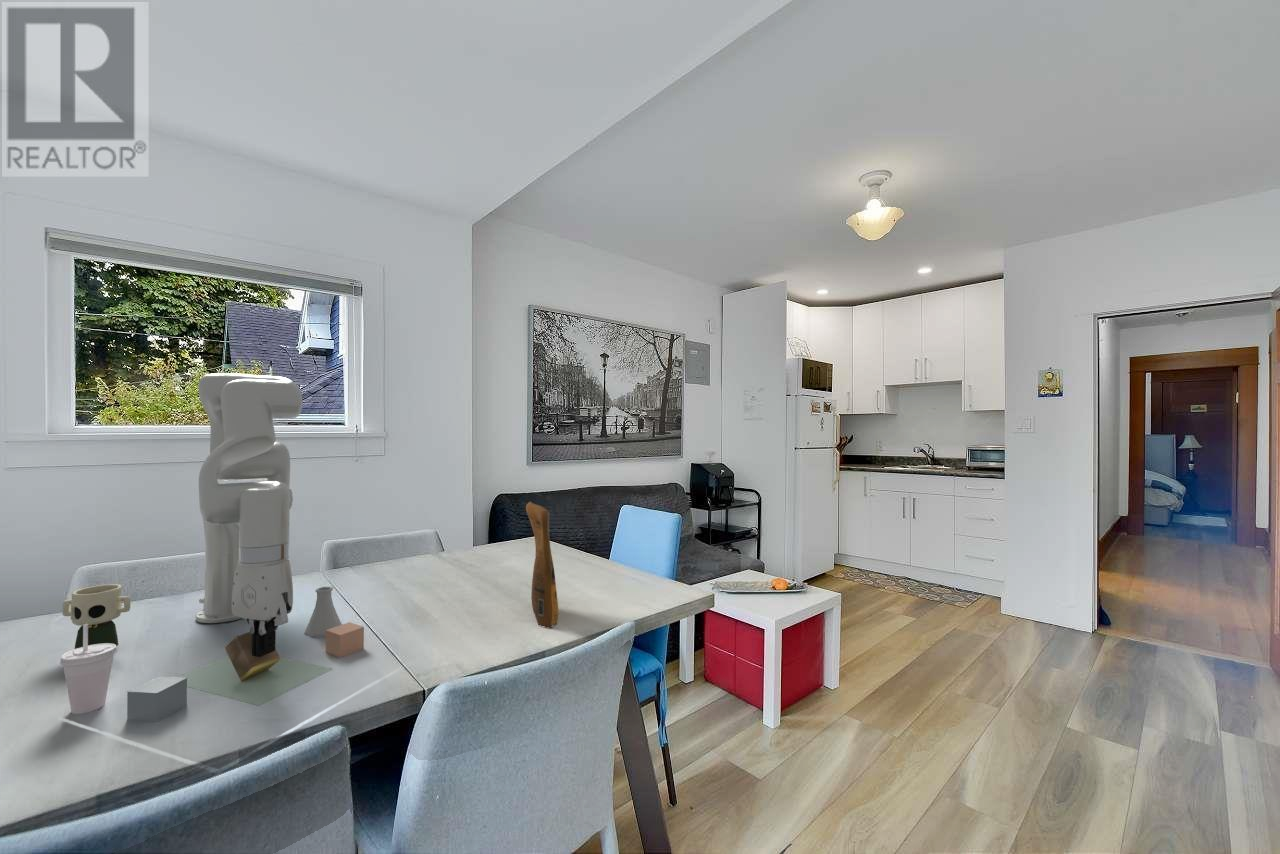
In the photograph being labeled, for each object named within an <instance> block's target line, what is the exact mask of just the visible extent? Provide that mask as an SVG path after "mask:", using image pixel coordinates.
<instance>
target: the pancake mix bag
mask: <svg viewBox="0 0 1280 854" xmlns="http://www.w3.org/2000/svg"><path fill="white" fill-rule="evenodd" d="M525 511H526V514H527V516H528V519H529V521H530V522H529V523H530V526H531V529H532V532H533V536H534V542H535V543H534V544H535V558H534V564H533V571H532V573H533V574H532V581H531V594H530V595H531V596H530V597H531V606H532V607H531V608H532V611H533V614H534V616H535V619H536V622H537V624H538V626H539V625H541V626H540V627H542V626H545V627H544V628H546V627H549V628H548V629H553V626H556V625H557V624H558V619H559V602H558V593H557V583H556V573H555V566H554V562H553V561H554V560H553V554H552V549H551V540H550V516H551V515H550V514H551V513H550V512H549V510H547V508H545V507H544V506H541V505H540V504H539V505H538V504H535V503H533V502H531V501H529V502H528V503H526V505H525ZM555 624H556V625H555ZM552 625H553V626H552Z"/></svg>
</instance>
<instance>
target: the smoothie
mask: <svg viewBox="0 0 1280 854" xmlns="http://www.w3.org/2000/svg"><path fill="white" fill-rule="evenodd" d="M116 653H117V647H116V645H115V644H111V643H102V644H94V645H89V646H88V624H84V625H83V647H81V648H77V649H75V648H73V649H72V650H69V651H66V652H64V653H63V654H62V655H61V656H60V660H59V661H60V662H59V664H60V665H61V666H63V673H64V678H65V683H66V689H67V695H68V701H69V706H70V712H71V714H73V715H81V714H88V713H91V712H93V711H94V712H95V711H97V710H98V709H101V708H103V707H105V705H106V700H107V694H108V689H109V684H110V683H109V682H110V677H111V671H112V667H113V666H112V665H113V660H114V655H115V654H116Z"/></svg>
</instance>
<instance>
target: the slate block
mask: <svg viewBox="0 0 1280 854" xmlns="http://www.w3.org/2000/svg"><path fill="white" fill-rule="evenodd" d="M126 696H127V697H126V698H127V699H126V701H127V703H126V704H127V708H126V709H127V710H126V711H127V712H126V713H127V714H126V721H132V722H135V721H136V722H150V723H158V722H159V721H161V720H163V719H165V718H166V717H168V716H170V715H172V714H174V713H175V712H177V711H178V710H181V709H182V708H184V707H186V706H187V705H188V702H187V701H188V687H187V678H182V677H176V676H161V675H160V676H157V677H155V678H153V679H150V680H149V681H148V680H147V682H145V683H142V684H140V685H138V686H136V687H134V688H132V689H129V690H128V691H127V694H126Z"/></svg>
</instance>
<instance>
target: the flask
mask: <svg viewBox="0 0 1280 854" xmlns="http://www.w3.org/2000/svg"><path fill="white" fill-rule="evenodd" d="M333 590H334V587H333V586H322V587H318V588H317V589H315V593H316V601H315V605H314V609H313V612H312V614H311V617H310V619H309V622H308V624H307V626H306V629H305V630H304V634H303V635H305V636H307V637H309V638H319V637H325V638H326V630H328V629H331V628H334V627H337V626H340V625H343V624H342V621H341V619H340V618H339V617H340V616H338V613H337V610H336V609H335V606H334V602H333V597H332V591H333Z"/></svg>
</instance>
